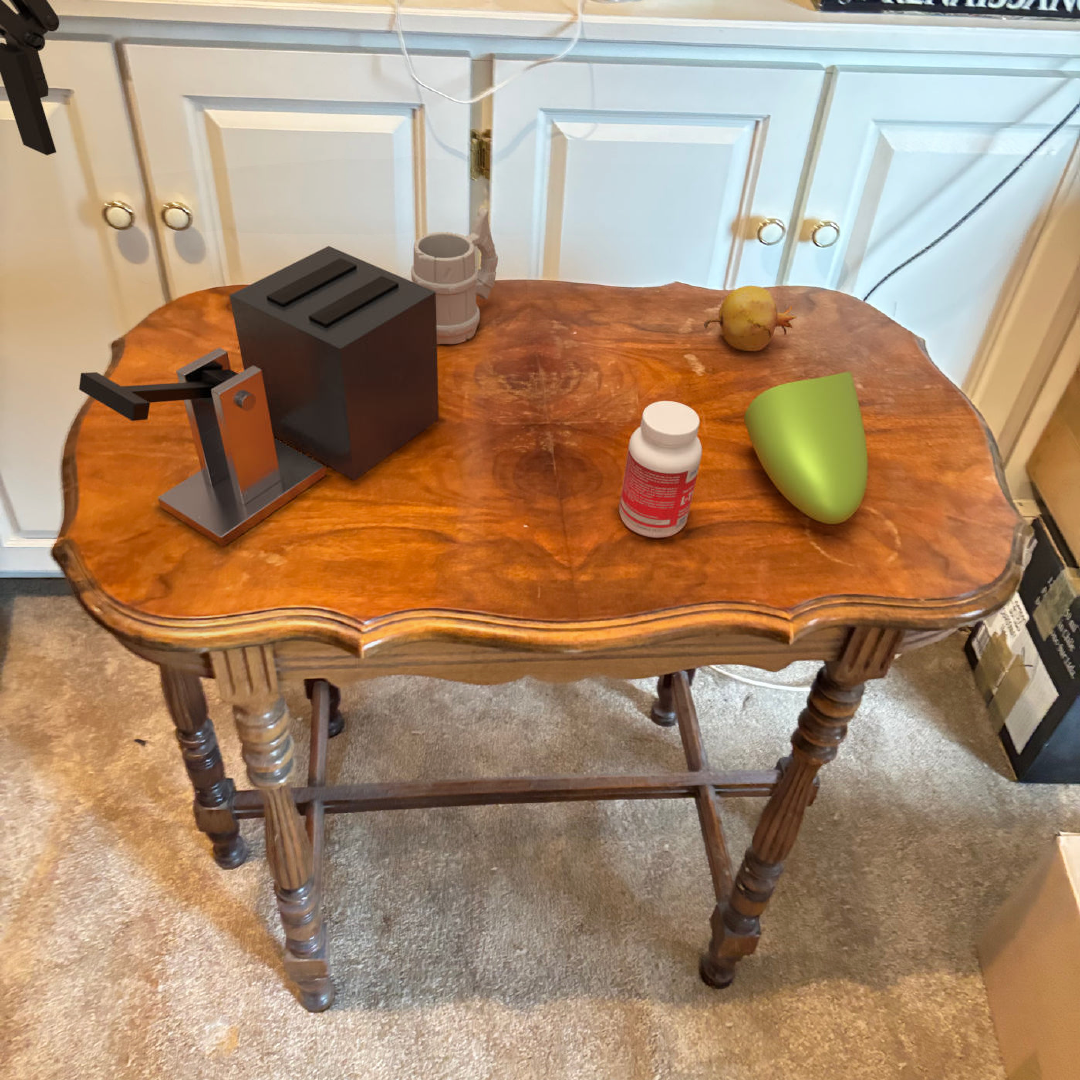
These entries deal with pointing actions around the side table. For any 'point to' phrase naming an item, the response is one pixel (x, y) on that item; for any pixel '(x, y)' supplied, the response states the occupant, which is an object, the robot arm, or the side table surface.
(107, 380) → the lever
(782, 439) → the green rounded cone
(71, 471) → the side table surface
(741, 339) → the fruit
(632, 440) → the pill bottle
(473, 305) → the mug
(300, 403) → the toaster
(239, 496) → the lever bracket
